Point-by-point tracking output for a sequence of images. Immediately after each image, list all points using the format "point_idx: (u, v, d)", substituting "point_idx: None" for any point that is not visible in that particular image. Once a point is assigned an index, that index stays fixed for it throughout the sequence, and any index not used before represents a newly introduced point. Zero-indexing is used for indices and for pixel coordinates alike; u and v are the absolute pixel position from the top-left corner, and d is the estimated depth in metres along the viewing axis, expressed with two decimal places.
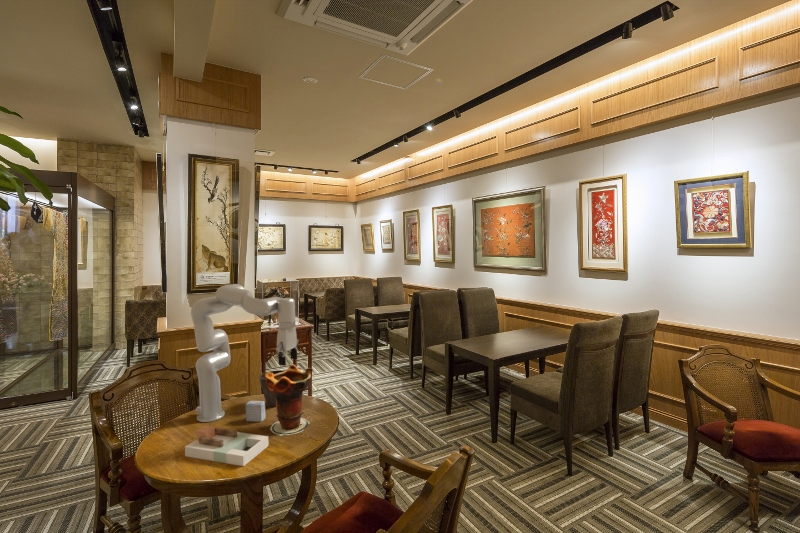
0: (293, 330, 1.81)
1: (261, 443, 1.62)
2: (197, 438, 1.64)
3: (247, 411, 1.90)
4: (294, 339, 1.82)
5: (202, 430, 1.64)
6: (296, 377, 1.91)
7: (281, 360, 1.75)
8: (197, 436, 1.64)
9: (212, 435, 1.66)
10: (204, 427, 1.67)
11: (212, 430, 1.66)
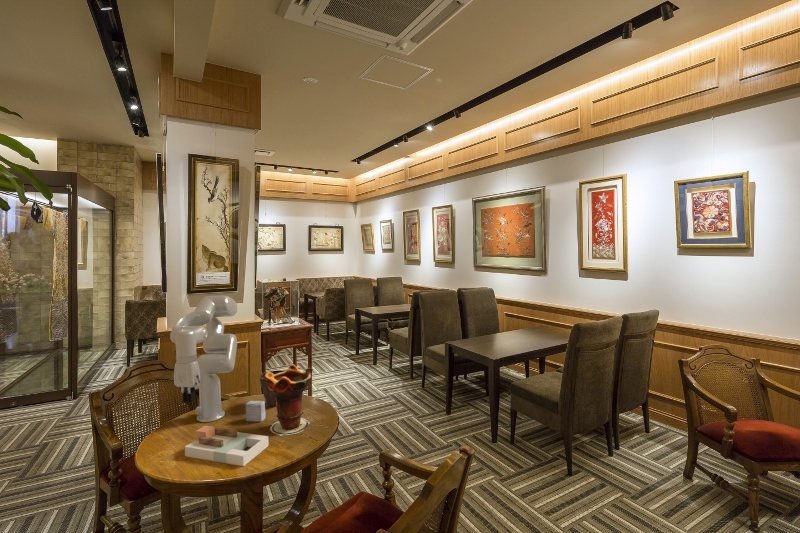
0: None
1: (261, 443, 1.62)
2: (197, 438, 1.64)
3: (247, 411, 1.90)
4: None
5: (202, 430, 1.64)
6: (296, 377, 1.91)
7: (192, 396, 1.67)
8: (197, 436, 1.64)
9: (212, 435, 1.66)
10: (204, 427, 1.67)
11: (212, 430, 1.66)
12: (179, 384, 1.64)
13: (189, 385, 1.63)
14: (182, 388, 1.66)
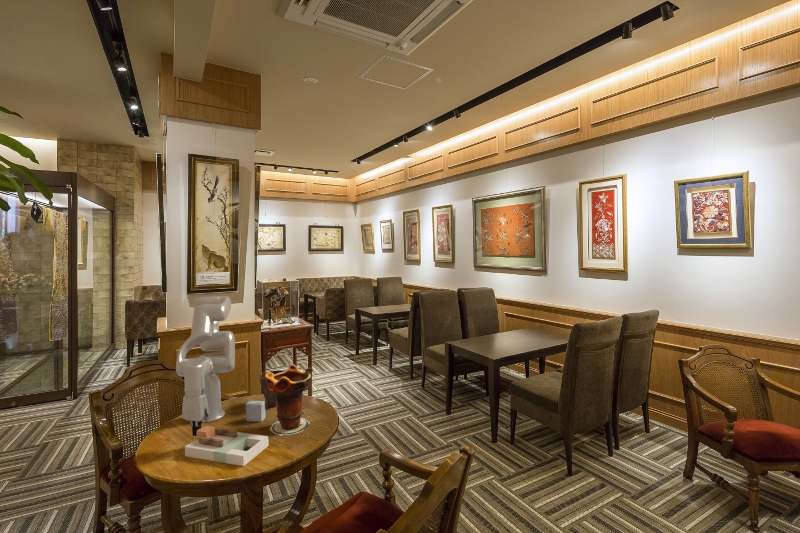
0: None
1: (261, 443, 1.62)
2: (198, 438, 1.64)
3: (247, 411, 1.90)
4: None
5: (202, 430, 1.64)
6: (296, 377, 1.91)
7: None
8: (198, 436, 1.64)
9: (213, 435, 1.66)
10: (205, 427, 1.67)
11: (213, 430, 1.66)
12: (187, 418, 1.64)
13: (197, 419, 1.63)
14: (191, 421, 1.66)
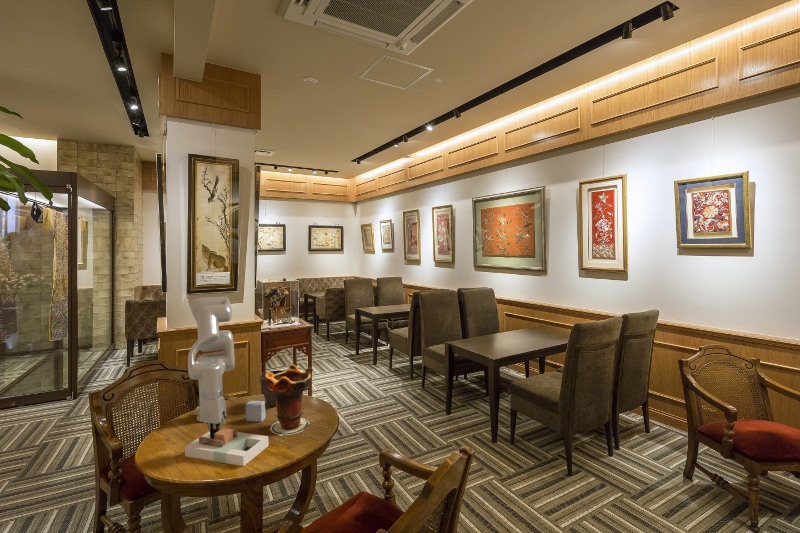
0: None
1: (261, 443, 1.62)
2: None
3: (247, 411, 1.90)
4: None
5: (220, 433, 1.62)
6: (296, 377, 1.91)
7: (217, 431, 1.64)
8: None
9: (230, 438, 1.63)
10: (222, 430, 1.64)
11: (231, 432, 1.64)
12: (205, 420, 1.62)
13: (215, 421, 1.60)
14: (209, 424, 1.63)
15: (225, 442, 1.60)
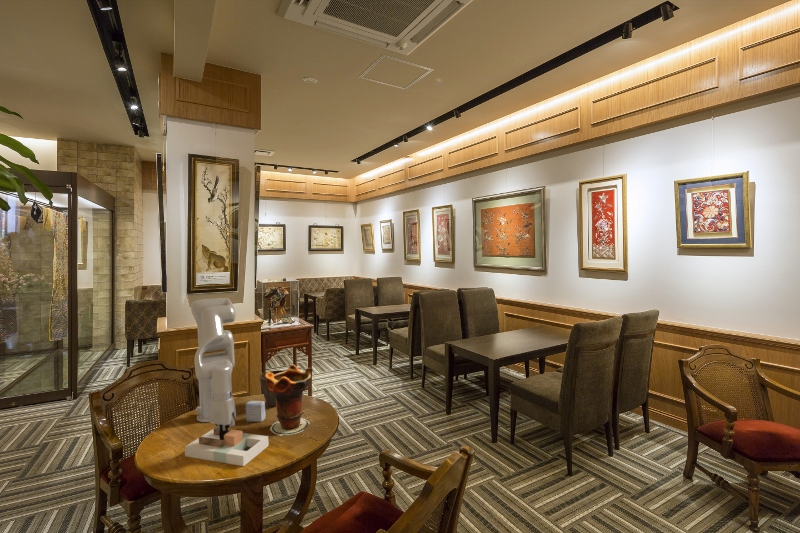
0: None
1: (261, 443, 1.62)
2: (225, 442, 1.60)
3: (247, 411, 1.90)
4: None
5: (230, 434, 1.60)
6: (296, 377, 1.91)
7: None
8: (225, 440, 1.60)
9: (240, 439, 1.62)
10: (232, 431, 1.63)
11: (240, 434, 1.62)
12: (215, 421, 1.60)
13: (225, 423, 1.59)
14: (218, 425, 1.62)
15: (235, 444, 1.59)
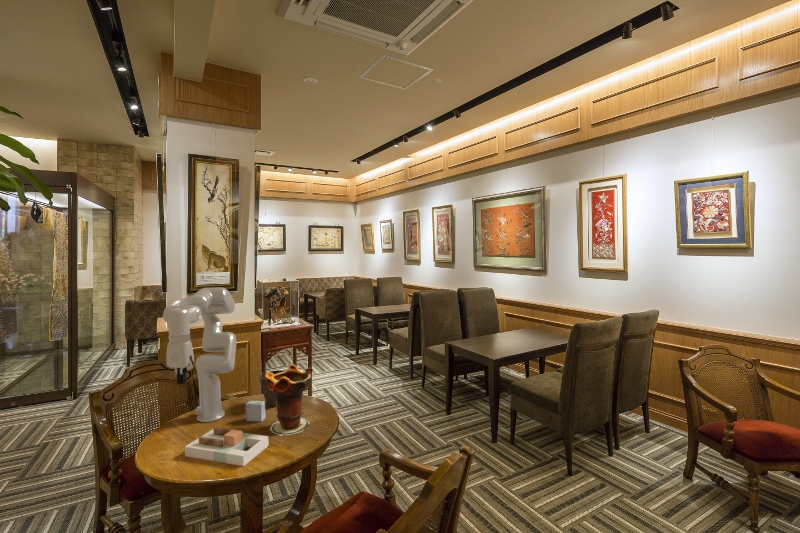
0: None
1: (261, 443, 1.62)
2: (225, 442, 1.60)
3: (247, 411, 1.90)
4: None
5: (230, 434, 1.60)
6: (296, 377, 1.91)
7: (185, 377, 1.61)
8: (225, 440, 1.60)
9: (240, 439, 1.62)
10: (232, 431, 1.63)
11: (240, 434, 1.62)
12: (172, 364, 1.59)
13: (182, 365, 1.57)
14: (176, 369, 1.60)
15: (235, 444, 1.59)
